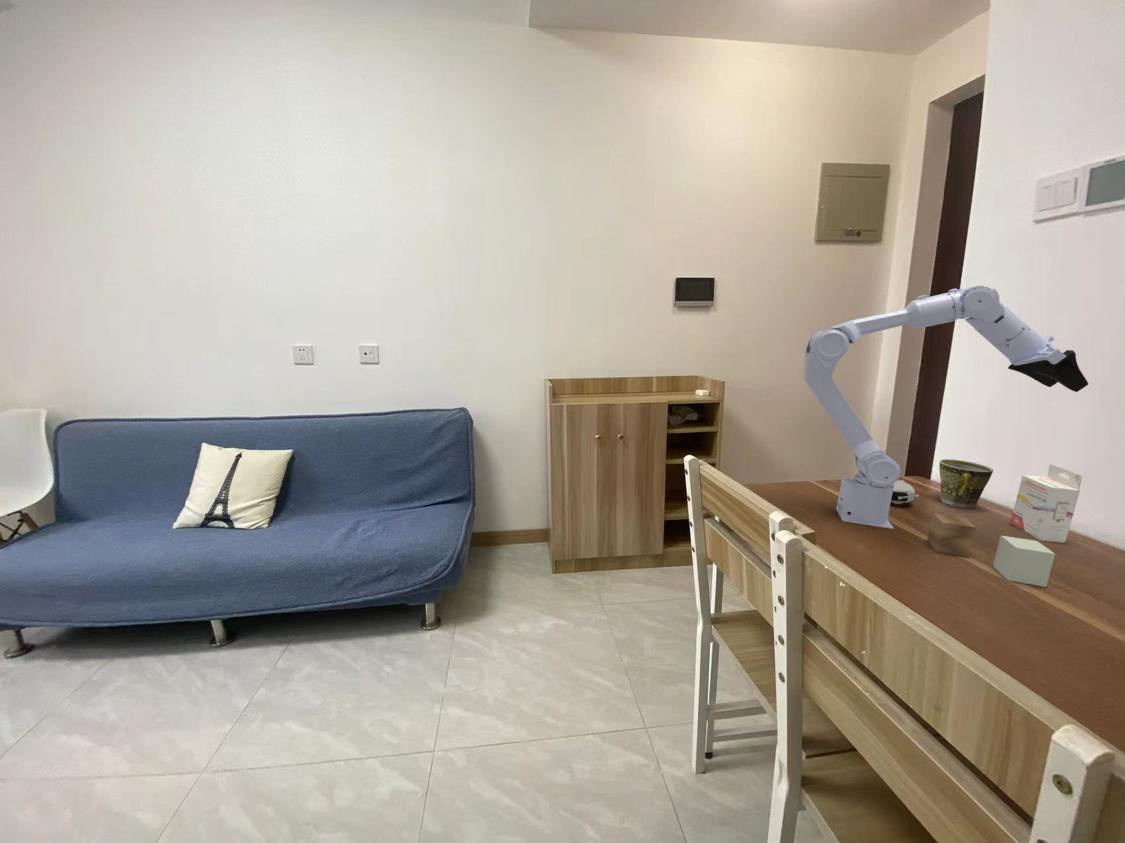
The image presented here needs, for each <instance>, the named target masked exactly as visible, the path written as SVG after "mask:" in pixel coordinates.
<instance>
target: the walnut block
mask: <svg viewBox="0 0 1125 843" xmlns="http://www.w3.org/2000/svg"><path fill="white" fill-rule="evenodd" d="M976 531H977V526H975V524H973V523H972V522H971V521H969V520H968V519H967V518H966V517H965V516H957V515H951V514H946V513H945V514H944V513H937V512H932V515H931V519H930V524H929V529H928V533H927V539H926V542H927V543H928V544H929V545H930V546H931V547H932V549H933V550H934V551H935V553H941V554H947V555H953V556H959V557H965V558H970V555H971V552H972V547H973V543H974V538H975V535H976Z"/></svg>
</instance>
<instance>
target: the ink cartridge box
mask: <svg viewBox="0 0 1125 843" xmlns="http://www.w3.org/2000/svg"><path fill="white" fill-rule="evenodd" d="M1047 470H1048V471H1047V476H1041V475H1040V476H1039V475H1027V474H1022V477H1021V480H1020V484H1019V488H1018V492H1017V494H1016V499H1015V504H1014V508H1013V511H1012V515H1011V519H1010V522H1009V524H1010V525H1012V526H1013V527H1015V528H1019V529H1021V530H1022V531H1023V532H1025V533H1028V534H1030V535H1031V536H1032V537H1034V538H1035V539H1036V540H1038V542H1039V541H1041V542H1042V541H1043V542H1051V543H1060V544H1064V543H1066V541H1067V537H1068V534H1069V530H1070V527H1071V523H1072V520H1073V516H1074V514H1075V511H1076V510H1075V509H1076V506H1077V504H1078V503H1077V502H1078V500H1079V495H1080V492H1081V491H1080V489H1081V484H1082V478H1083V477H1082V475H1081V474H1080V473H1078V472H1075V471H1071V470H1069V469H1066V468H1064V467H1061V466H1058V465H1055V464H1052V463H1050V464H1049V465H1048V469H1047ZM1060 474H1065V475H1066V476H1068V477H1069V478H1067V477H1064V476H1062V475H1060Z"/></svg>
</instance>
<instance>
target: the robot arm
mask: <svg viewBox="0 0 1125 843" xmlns="http://www.w3.org/2000/svg"><path fill="white" fill-rule="evenodd" d="M958 320H964V321H966V322H967V323H968V324H969V325H970V326H972V327H973V329H974V330H975V331H976V332H977V333H978V334H979V335H981V336H982V337H983V338H984V339H985V340H986V341H988V342H989V343H990V344H991V345H992V346H994V348H995V349H996V350H998V352H1000V353H1001V354H1002V355H1004V357H1006V358H1007V359H1008V361H1009V363H1010V365H1008V367H1007V369H1009V370H1011V371H1014V372H1018V373H1020V374H1023V375H1025V376H1027V377H1029V378H1031V379H1033V380H1035V381H1036V382H1038V383H1040V384H1042V385H1044V386H1046V387H1048V388H1051V387H1054V386H1055V385H1056V384H1058V383H1059V384H1061V385H1062V386H1064V387H1065V388H1066V389H1069V390H1070V391H1072V392H1076V393H1078V392H1079V391H1081V390H1083V389H1084V388H1085V387H1087V386H1089V382H1088V380H1087V378H1086V377H1085V376H1084V373H1083V372H1082V371H1081V368H1080V367H1079V365H1078V362H1077V353H1076V352H1075V351H1074V350H1072V349H1070V350H1069V349H1066V350H1065V351H1064V352H1062V351H1061V350H1060V349H1058V348H1055V347H1054V346H1053V344H1052V342H1053V341H1054V340H1055V339H1056V338H1055V337H1054V335H1046V336H1044V337H1042V336H1040V334H1038V333H1037V332H1036V331H1035V330H1034V329H1033V328H1031V327H1030V326H1029V325H1028V324H1027V323H1026V322H1025V321H1023V320H1022V319H1021V318H1020V317H1019V316H1017V315H1016V314H1015V313H1014V312H1013V311H1012V310H1011V309H1010V308H1009V307H1006V306H1005V305H1004V304H1003V303H1001V301H1000V295H999V292H998V291H997V289H995V288H993V289H992V288H990V287H988V286H983V285H976V286H971V287H966V288H965V287H964V288H959V289H957V288H952V289H948V292H945V293H941V294H940V293H939V294H937V295H932V296H928V295H927V294H923V295H919V296H917V297H916V299H915V300H912V301H910V302H909V303H908V305H907V306H905V307H904V308H903V309H901V310H896V311H890V312H886V313H881V314H877V315H871V316H866V317H860V318H856V319H852V320H849V321H845V322H842V323H839V324H836V325H833V326H830V327H829V329H821V330H818V331H816V332H815V333H813V334H812V336H811V337H810V339H809V340H808V342H807V345H806V347H805V349H804V354H805V355H804V357H805V358H804V374H803V379H804V381H805V383H806V385H807V386H808V388H809V389H810V390H811V392H812V394H813V395H814V396H815V398H816V399H817V400H818V401H817V402H818V403H819V404H820V405H821V407H822V408H823V410H824V411H825V413H826V414H827V417H829V418H830V420H831V422H832V423H833V424H834V425H835V428H836V429H837V430H838V431H839V433H840V435H841V436H842V438H843V439H844V441H845V442H846V443H847V445H848V447H849V448H850V451H851V452H852V453H853V456H854V458H855V459H854V460H855V466H856V468H857V469H858V471H857V473H856V474H855V475H854V478H850V479H849V478H842V479H843V480H842V479H841V480H842V482H841V481H840V485H839V486H840V487H839V493H838V496H837V497H838V500H837V505H836V508H835V510H836V511H837V513H838V516H839V517H840V519H841V521H842V522H845V523H846V522H847V523H853V524H861V525H866V526H873V527H879V528H887V529H894V526H893V525H892V523H891V522H890V520H889V519H888V518H889V513H890V508H891V507H890V506H891V504H892V503H891V498H892V493H893V488H894V483H895V482H896V481H897V480H899V479H900V477H901V472H902V471H901V470H902V469H901V467H900V465H899V464H898V462H897V461H896V460H894V459H893V458H892V457H889V456H888V455H887V454H886V452H885V451H883V449H882V448H881V447H880V445H879V444H878V443H877V441H875V440H874V438H873V437H872V435H871V434H870V432H869V431H868V430H867V428H866V426H865V425H864V423H863V422H862V420H861V419H860V418H859V416H858V415H857V413H856V412H855V410H854V409H853V407H852V406H851V405H850V403H849V401H848V400H847V399H846V397H845V396H844V394H843V393H842V391H841V390H840V388H839V387H838V386H837V384H836V383H835V381H834V380H833V378H832V377H833V374H834V371H835V369H836V368H837V367H836V366H837V364H838V363H839V362H840V361H841V359H842V358H843V357H844V356H845V354H846V353H847V352H848V350H849V346H850V344H853V345H854V344H856V343H857V342H858V341H859V340H860V339H861V338H863V336H865V335H868V334H873V333H876V332H877V333H878V332H881V331H885V330H889V329H893V328H897V327H901V326H905V325H907V326H909V327H911V328H913V329H915V330H918V329H922V328H928V327H933V326H937V325H941V324H946V323H952V322H955V321H958Z"/></svg>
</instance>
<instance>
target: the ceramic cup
mask: <svg viewBox="0 0 1125 843" xmlns="http://www.w3.org/2000/svg"><path fill="white" fill-rule="evenodd" d="M938 466H939V468H938V469H939V477H940V500H941V502H942V503H944V504H946V505H948V504H949V506H951V507H954V506H955V508H959V507H960V508H961V509H965V508H966V509H974V508H976V506H977V504H978V502H979V500H980V498H981V496H982V494H983V492H984V490H985V488H986V487H987V485H988V483H989V481H990V479H991V477H992V474H993V473H994V469H993V468H992V467H990V466H987V465H984V464H981V463H978V462H971V461H966V460H958V459H949V458H948V459H945V458H944V459H940V460H939V465H938Z"/></svg>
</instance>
